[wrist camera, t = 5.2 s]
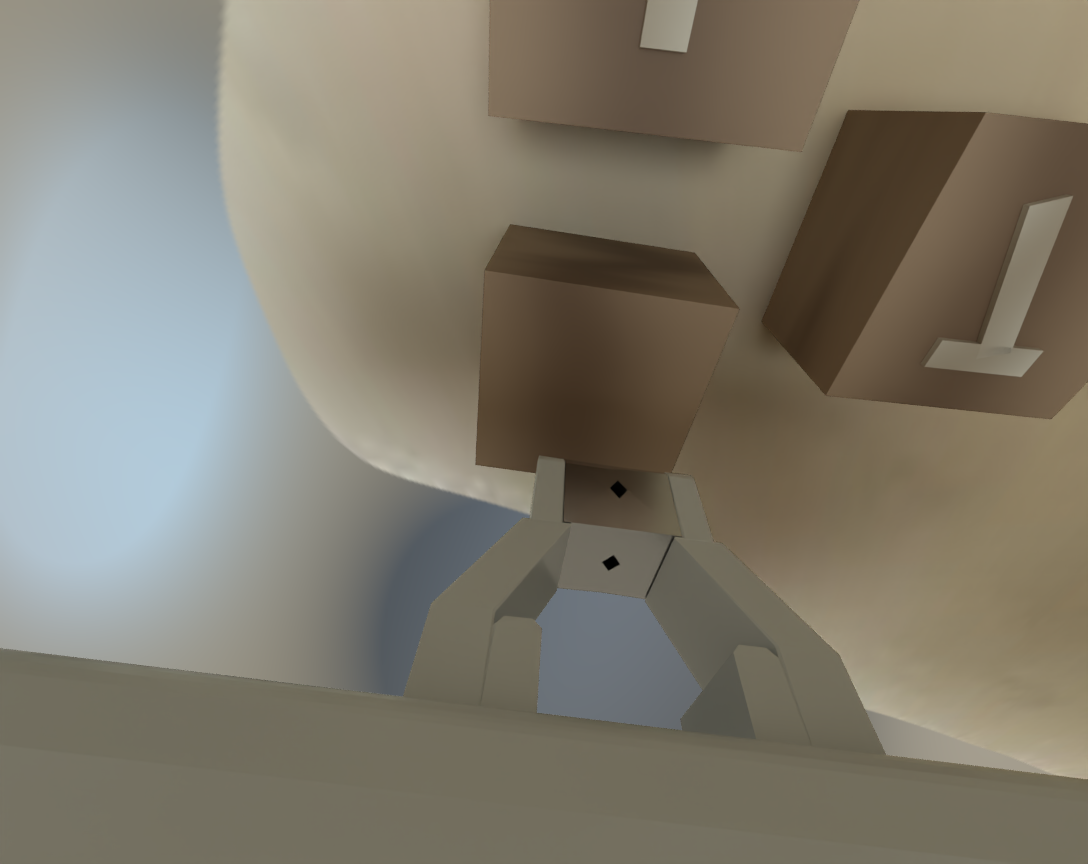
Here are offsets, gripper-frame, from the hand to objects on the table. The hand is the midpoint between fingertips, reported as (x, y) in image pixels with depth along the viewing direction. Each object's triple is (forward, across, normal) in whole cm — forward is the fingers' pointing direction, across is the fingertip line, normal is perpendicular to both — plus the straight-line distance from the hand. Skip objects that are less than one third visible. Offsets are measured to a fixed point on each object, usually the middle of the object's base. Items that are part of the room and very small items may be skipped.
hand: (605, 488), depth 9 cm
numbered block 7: (+9, -9, -4) cm, 13 cm away
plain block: (+9, 0, 0) cm, 9 cm away
